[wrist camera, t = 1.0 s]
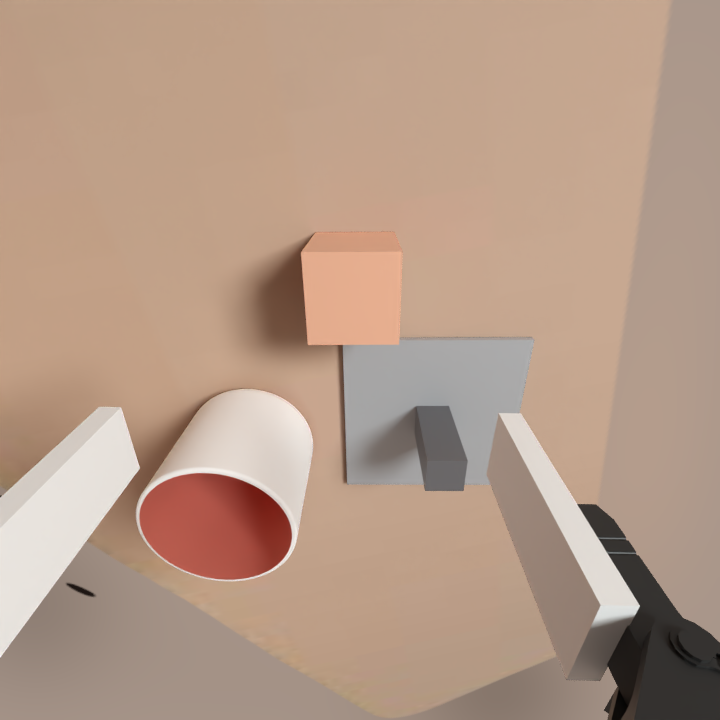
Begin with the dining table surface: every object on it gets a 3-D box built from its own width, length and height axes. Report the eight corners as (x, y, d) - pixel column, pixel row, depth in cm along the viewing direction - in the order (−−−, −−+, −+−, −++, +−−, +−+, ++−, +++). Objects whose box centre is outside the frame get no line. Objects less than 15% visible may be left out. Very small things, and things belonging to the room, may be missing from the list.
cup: (323, 393, 32) (307, 484, 23) (306, 485, 36) (287, 591, 27) (197, 371, 31) (129, 456, 22) (195, 468, 35) (138, 571, 26)
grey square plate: (342, 337, 29) (337, 384, 23) (531, 337, 29) (577, 384, 23) (347, 480, 36) (343, 547, 29) (503, 480, 36) (532, 548, 29)
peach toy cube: (315, 232, 26) (301, 252, 20) (394, 231, 26) (402, 251, 20) (319, 307, 28) (307, 344, 23) (392, 306, 28) (399, 344, 22)
